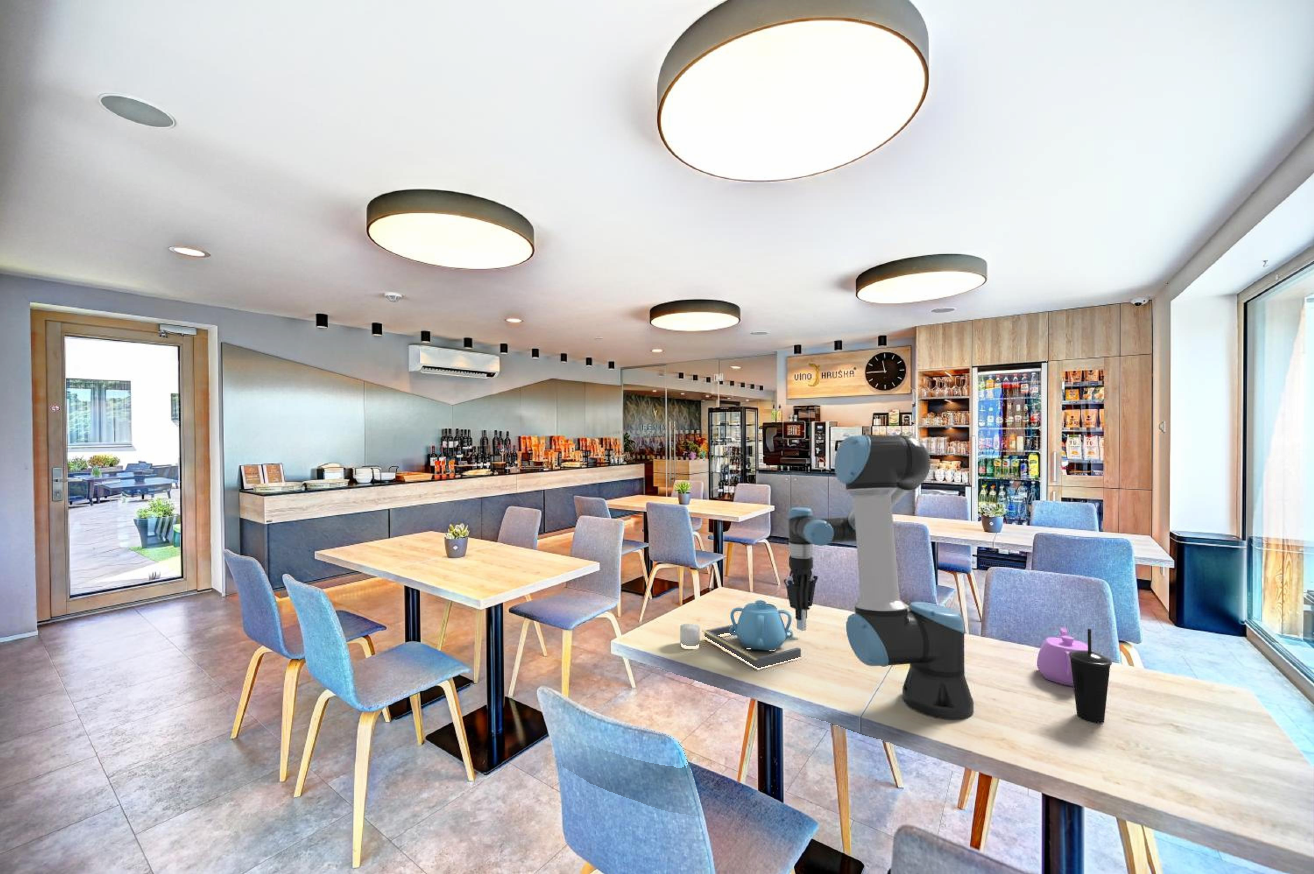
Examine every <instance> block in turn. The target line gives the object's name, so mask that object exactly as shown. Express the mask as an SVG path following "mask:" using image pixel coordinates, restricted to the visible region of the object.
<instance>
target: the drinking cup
mask: <svg viewBox="0 0 1314 874" xmlns="http://www.w3.org/2000/svg"><path fill="white" fill-rule="evenodd" d="M1086 631H1087V645H1088V651H1087V650H1079V651H1072V652H1069V657H1070V660H1071V669H1072V677H1073V686H1072V687H1073V693H1074V700H1075V709H1076V716H1077V717H1078V718H1079V719H1081V720H1084V721H1085V722H1089V723H1092V724H1103V723H1104V722H1105V718H1106V717H1105V716H1106V707H1107V700H1108V699H1107V698H1108V690H1109V681H1110V680H1109V679H1110V671H1111V666H1112V665H1113V661H1112V660H1111V659H1110V658H1108V657H1106V656H1104V655H1103V654H1101V653H1098V652H1096V651H1093V649H1092V629H1091V628H1087V630H1086Z"/></svg>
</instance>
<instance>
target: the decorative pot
mask: <svg viewBox="0 0 1314 874" xmlns="http://www.w3.org/2000/svg"><path fill="white" fill-rule="evenodd" d="M736 612H740V615H739V618H738V621H737V623H736V620H735V613H736ZM781 614H783V615H786V616H787V618H788V620H787V623H786V626H785V623H784V620H783V617H782V615H781ZM792 618H793V617H792V614H791V613H790V612H789V611H787V610H785V609H778V607H777V606H776V605H774V604H771V603H767V601H766V600H761V599H758V600H756V601H754V602H750V603H747V604H746V605H744V606H743V607H739V606H738V607H735V608H733V609H732V610H731V611H730V620H731V623H732V625H733V626H731V627H730V629H729V632H730V634H731V635H733V636H736V637H737V640H738V641H739V643H740V644H741V646H743V647H744V648H745V649H746V648H751V649H754V650H761V651H763V650H764V651H768V650H775V649H776V650H777V649H780V648H781V647H782V645H783V644H784V642H785V641H786V639H787V640H791V639H792V638H793V637H794V631H792V630H791V629H790V627H791V624H792V622H793V621H792V620H793V619H792ZM736 624H737V625H736ZM732 629H735V632H733V631H732ZM788 633H789V634H788Z"/></svg>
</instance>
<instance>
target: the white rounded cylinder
mask: <svg viewBox="0 0 1314 874" xmlns="http://www.w3.org/2000/svg"><path fill="white" fill-rule="evenodd" d="M700 629H701V628H700V625H698V624H695V623H684V624H681V625H680V627H679V641H680V642H679V644H680V643H682V644H683V645H686V646H696V645H698V644H699V643H700V644H701V641H700V640H701V639H700V637H701V635H700V634H701V632H700V631H701V630H700Z"/></svg>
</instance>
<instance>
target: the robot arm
mask: <svg viewBox="0 0 1314 874" xmlns="http://www.w3.org/2000/svg"><path fill="white" fill-rule="evenodd" d="M835 453H836V454H835V457H834V473H835V475H836V478H837V480H838V481H839V482H840V483H841V484H844V485H845V490H846V491H845V492H847V494H849V495H850V496H851V497H852V500H853V501H852V502H853V509H852V510H851V512H850V513H849V514H847V516H845V517H825V518H823V517H822V518H820V517H819V518H817V517H814V515H813V514H814V513H813V510H812V509H811V508H809V507H791V508H789V510H788V517H787V520H788V521H787V522H788V554H789V557H788V567H789V569H790V572H789V577H788V578H787V579H786V578H785V579H783V583H784V586H785V587H786V591H787V592H786V593H787V597H788V602H789V603H788V604H789V607H790V608H792V609H794V610H795V616H794V617H795V620H796V629H797V630H799V631H802V632H805V631H807V619H808V611H809V610H810V609H811V607H812V606H813V603H814V597H815V589H816V585H817V584H816V583H817V581H818V575H814V574H813V571H812V570H813V569H814V558H813V555H814V546H820V547H825V546H827V545H829V544H836V543H837V544H840V543H856V553H857V566H858V579H859V594H860V597H859V599H858V600H857V601H856V602H855V603H854V613H851V614H849V616H848V617H847V618H846V620H847V621H846V623H845V630H846V637H847V640H848V643H849V645H850V648H851V651H853V653H854V655H855V657H856V658H857V659H858V660H859V661H860V662H861V663H863V664H864V665H866V666H869V667H883V668H885V667H887V666H901V665H909V669H908V671H907V675H906V677H905V680H904V682H903V685H902V689H901V690H902V692H901V694H902V698H901V699H902V700H903V702H904V703H905V705H907V706H908V707H910V708H911V709H912V710H914V711H916V712H919V713H920V714H923V715H926V716H930V717H933V718H936V719H937V718H938V719H944V720H962V719H967V718H969V717H971V716H973V714H974V712H975V711H974V710H975V707H974V706H975V705H974V704H975V703H974V699H973V697H972V694H971V691H970V690H971V689H970V688H969V684H968V682H967V679H966V676H965V675H966V671H965V634H966V631H965V626H964V622H965V621H964V618H963V615H962V614H960V613H959V612H958V611H957V610H954V609H952V608H950V607H946V606H945V605H940V604H937V603H930V602H924V601H913V602H910V603H909V606H908V605H907V604H906V603H905V602H904V601H903V600H901V597H900V589H899V588H900V587H899V578H898V577H899V574H898V564H897V553H896V542H895V532H894V531H895V530H894V528H895V527H894V520H893V519H894V518H893V507H894V506H895V505H896V504H898V503H899V501H901V500H902V498H903V497H904V496H905V495H906V494H907V493H908V492H912V491H915V490H917V489H918V488H919V486H921V485H922V484H923V482H924V481H926V479H927V476H928V475H929V473H930V470H931V457H930V454H929V452H928V449H927V448H926V447H925V445H923V443H922V442H921V441H919V440H918V439H916V438H914V437H912V436H909V435H903V434H896V435H891V434H888V435H887V434H886V435H885V434H863V435H862V434H861V435H860V434H859V435H853V436H852V435H851V436H848V437H845V439H843V440H842V441H841V442H840V443H839V445H838V448H837V450H836V452H835ZM813 545H814V546H813Z"/></svg>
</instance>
